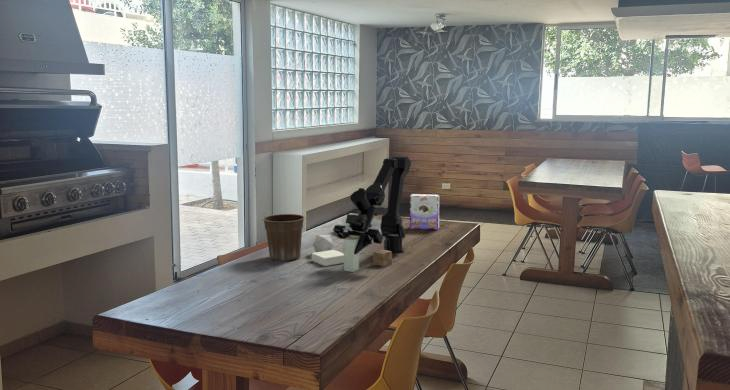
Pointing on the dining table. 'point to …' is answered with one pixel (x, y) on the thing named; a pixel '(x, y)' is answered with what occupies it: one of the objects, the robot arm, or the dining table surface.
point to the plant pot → (284, 236)
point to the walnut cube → (382, 257)
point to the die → (323, 243)
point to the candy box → (424, 211)
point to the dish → (375, 225)
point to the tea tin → (351, 254)
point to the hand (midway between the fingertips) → (349, 253)
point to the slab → (328, 257)
